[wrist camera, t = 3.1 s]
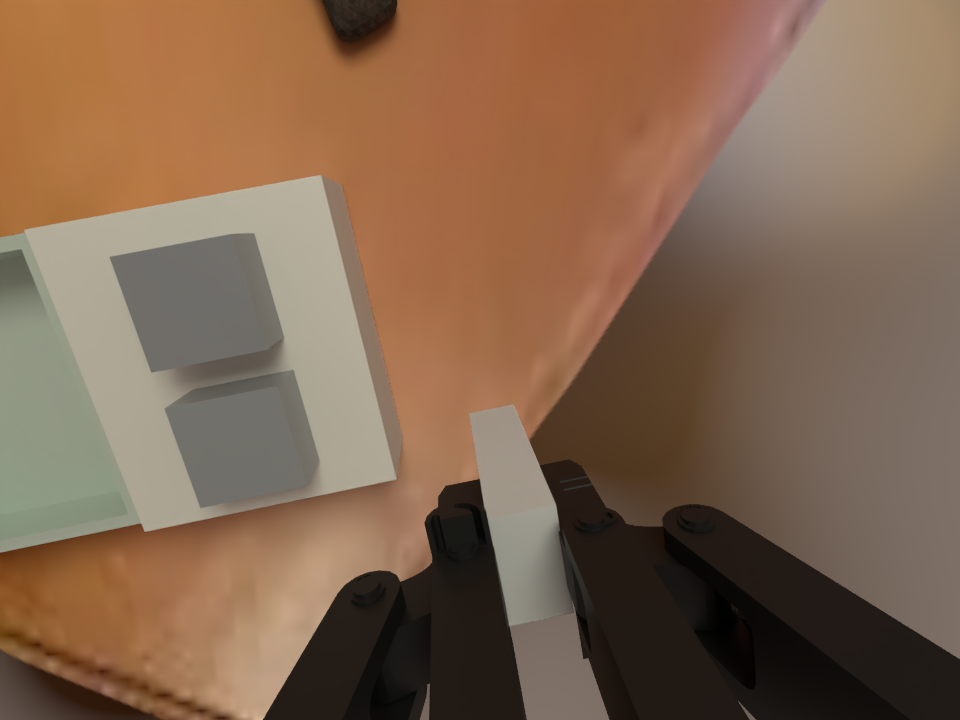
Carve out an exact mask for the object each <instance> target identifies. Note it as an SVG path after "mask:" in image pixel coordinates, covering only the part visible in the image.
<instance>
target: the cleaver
mask: <svg viewBox="0 0 960 720" xmlns="http://www.w3.org/2000/svg"><path fill="white" fill-rule="evenodd" d="M323 1H324V4H325V7H326V9H327V12H328V15H329V18H330V21H331V23H332V25H333V27H334V29H335V31H336V33H337V35H338V36H339V38H340V39H341V40H343V41H346V42H349V43H351V42H353V41H356V40H358V39H360V38H362V37H364V36H365V35H367V34H368V33H370V32H372V31H373V30H375V29H376V28H378V27H379V26H381V25H382V24H383V23H385V22H386V21H388V20H389V19H390V18H391V17H392V16H393V15H394V14H395V11H396V7H397V0H323Z"/></svg>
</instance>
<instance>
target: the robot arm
mask: <svg viewBox="0 0 960 720" xmlns="http://www.w3.org/2000/svg"><path fill="white" fill-rule="evenodd" d="M469 414H470V421H471V427H472V433H473V440H474V446H475V452H476V458H477V465H478V471H479V477H480V479H478V480H473V481H468V482H463V483H458V484H453V485H448V486H445V488H444V489H443V491H442V492H441V494H440V495H439V496H438V508H436V509H434V510H433V511H432V512H431V513H430V514H429V515H428V516H427V518H426V520H425V527H426V532H427V536H428V540H429V544H430V549H431V553H432V563H431V564H430V566H429V567H427V568H426V569H425V570H423V571H422V572H421V573H419V574H417V575H415V576H413V577H411V578H409V579H406V580H404V581H402V582H400V581H399V579H398V577H397V575H395V574H393V573H391V572H390V571H374V572H368V573H365V574H363V575H360V576H358V577H356V578H354V579H353V580H351V581H350V582H349V583H347V584H346V585H345V586H344V587H343V588H342V589H341V590H340V592H339V593H338V594H337V596H336V597H335V599H334V601H333V603H332V604H331V606H330V608H329V609H328V611H327V613H326V614H325V616H324V618H323V619H322V621H321V623H320V624H319V626H318V628H317V629H316V631H315V633H314V635H313V636H312V638H311V640H310V641H309V643H308V645H307V646H306V648H305V650H304V651H303V653H302V655H301V656H300V658H299V660H298V661H297V663H296V665H295V667H294V668H293V670H292V672H291V673H290V675H289V677H288V678H287V680H286V682H285V683H284V685H283V687H282V688H281V690H280V692H279V693H278V695H277V697H276V699H275V700H274V702H273V704H272V705H271V707H270V709H269V710H268V712H267V714H266V715H265V717H264V719H263V720H420V717H421V713H422V709H423V706H424V703H425V699H426V694H427V684H429V683H430V711H429V720H527V719H526V714H525V708H524V703H523V697H522V691H521V686H520V681H519V675H518V669H517V664H516V658H515V653H514V647H513V642H512V637H511V632H510V627H509V626H513V625H518V624H522V623H527V622H532V621H537V620H541V619H546V618H551V617H555V616H560V615H565V614H570V613H573V612H574V611H573V605H572V601H573V604H574V607H575V610H576V616H577V622H578V629H579V635H580V640H581V647H582V652H583V659H585V658H589V661H590V664H591V667H592V670H593V673H594V676H595V679H596V682H597V685H598V687H599V690H600V693H601V696H602V699H603V702H604V705H605V708H606V710H607V714H608V716H609V719H610V720H749V718H748V717H747V715H746V713H745V712H744V710H743V709H742V707H741V705H740V704H739V702H740V703H741V704H742V705H743V706H744V707H745V708H746V709H747V710H748V711H749V713H750V714H751V715H752V716H753V717H754V718H755V719H756V720H960V659H958V658H957V657H955V656H953V655H952V654H950V653H949V652H947V651H946V650H944V649H942V648H941V647H939V646H938V645H936V644H934V643H933V642H931V641H930V640H928V639H926V638H924V637H923V636H922V635H920V634H918V633H917V632H915V631H914V630H912V629H910V628H909V627H907V626H905V625H904V624H902V623H901V622H899V621H897V620H896V619H894V618H892V617H891V616H889V615H888V614H886V613H885V612H883V611H881V610H880V609H878V608H877V607H875V606H873V605H872V604H870V603H869V602H867V601H865V600H864V599H862V598H860V597H859V596H857V595H856V594H854V593H852V592H851V591H849V590H848V589H846V588H844V587H843V586H841V585H839V584H838V583H836V582H834V581H833V580H831V579H830V578H828V577H827V576H825V575H823V574H822V573H820V572H819V571H817V570H815V569H814V568H812V567H811V566H809V565H807V564H806V563H804V562H803V561H801V560H799V559H798V558H796V557H795V556H793V555H791V554H790V553H788V552H787V551H785V550H783V549H782V548H780V547H778V546H777V545H775V544H774V543H772V542H771V541H769V540H767V539H766V538H764V537H763V536H761V535H759V534H757V533H756V532H754V531H753V530H751V529H750V528H748V527H746V526H745V525H743V524H742V523H740V522H738V521H737V520H735V519H734V518H732V517H730V516H729V515H727V514H726V513H724V512H722V511H720V510H718V509H715V508H713V507H710V506H704V505H699V504H693V505H691V504H689V505H683V506H679V507H675V508H673V509H671V510H669V511H668V512H667V513H666V514H665V515H664V517H663V518H662V521H663V527H643V526H633V525H629V524H626V523H625V521H624V520H623V518H622V517H621V516H620V515H619V514H618V513H617V512H616V511H614V510H611V509H608V508H606V506H605V505H604V503H603V502H602V500H601V498H600V496H599V495H598V493H597V492H596V490H595V488H594V486H593V485H592V484H591V481H590V480H589V478H588V477H587V475H586V473H585V471H584V470H583V468H582V466H580V465H578V464H577V463H575V462H573V461H571V460H564V461H560V462H554V463H550V464H545V465H540V466H539V463H538V461H537V459H536V456H535V454H534V452H533V449H532V447H531V444H530V442H529V440H528V437H527V435H526V433H525V430H524V428H523V426H522V423H521V421H520V418H519V416H518V414H517V411H516V409H515V407H514V404H513V405H508V406H503V407H498V408H493V409H488V410H483V411H478V412H473V413H469ZM571 598H572V599H571ZM737 700H738V701H739V702H738V701H737Z"/></svg>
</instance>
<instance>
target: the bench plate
mask: <svg viewBox="0 0 960 720" xmlns="http://www.w3.org/2000/svg"><path fill="white" fill-rule="evenodd" d="M24 231H25V233H26V236H27V238H28V241H29V243H30V246H31V248H32V251H33V253H34V256H35V258H36V261H37V263H38V266H39V268H40V271H41V273H42V276H43V278H44V281H45V283H46V286H47V288H48V291H49V293H50V296H51V299H52V301H53V304H54V306H55V309H56V311H57V314H58V316H59V319H60V321H61V324H62V326H63V329H64V331H65V334H66V336H67V339H68V341H69V344H70V346H71V349H72V351H73V354H74V356H75V359H76V361H77V364H78V366H79V369H80V371H81V374H82V376H83V379H84V381H85V384H86V386H87V389H88V391H89V394H90V396H91V399H92V401H93V404H94V406H95V409H96V411H97V414H98V416H99V419H100V421H101V424H102V426H103V429H104V431H105V434H106V436H107V439H108V441H109V444H110V446H111V449H112V451H113V454H114V456H115V459H116V461H117V464H118V466H119V469H120V471H121V474H122V476H123V479H124V481H125V484H126V486H127V489H128V491H129V494H130V496H131V499H132V501H133V504H134V506H135V509H136V511H137V514H138V516H139V519H140V521H141V524H142V526H143V529H144V531H145V532H147V531H152V530H156V529H161V528H166V527H171V526H176V525H181V524H185V523H190V522H195V521H200V520H205V519H209V518H214V517H219V516H224V515H229V514H233V513H238V512H243V511H248V510H253V509H257V508H262V507H267V506H272V505H277V504H282V503H286V502H291V501H296V500H301V499H306V498H310V497H315V496H320V495H325V494H330V493H334V492H339V491H344V490H349V489H354V488H358V487H363V486H368V485H373V484H378V483H383V482H387V481H392V480H397V474H398V467H399V460H400V453H401V446H402V439H403V438H402V434H401V430H400V426H399V422H398V418H397V413H396V409H395V405H394V401H393V397H392V392H391V388H390V384H389V380H388V376H387V372H386V367H385V363H384V359H383V355H382V351H381V347H380V342H379V338H378V334H377V330H376V326H375V322H374V317H373V313H372V309H371V305H370V301H369V297H368V292H367V288H366V284H365V280H364V276H363V272H362V267H361V263H360V259H359V255H358V251H357V247H356V242H355V238H354V234H353V230H352V226H351V222H350V217H349V213H348V209H347V205H346V201H345V197H344V192H343V188H342V185H341V184H339V183H337V182H335V181H333V180H331V179H328V178H326V177H324V176H322V175H318V176H313V177H307V178H302V179H297V180H291V181H286V182H280V183H275V184H269V185H264V186H259V187H253V188H248V189H242V190H237V191H232V192H226V193H221V194H215V195H210V196H204V197H199V198H194V199H188V200H183V201H177V202H172V203H167V204H161V205H156V206H150V207H145V208H139V209H134V210H129V211H123V212H118V213H112V214H107V215H101V216H96V217H91V218H85V219H80V220H74V221H69V222H64V223H58V224H53V225H47V226H42V227H36V228H31V229H26V230H24ZM242 233H254V234H255V237H256V241H257V244H258V248H259V251H260V255H261V258H262V261H263V265H264V268H265V272H266V275H267V279H268V282H269V286H270V289H271V293H272V296H273V300H274V303H275V307H276V310H277V314H278V317H279V320H280V324H281V327H282V331H283V334H284V338H282V339H281V340H280V341H278V342H277V343H276V344H274V345H273V346H272V347H270V348H269V349H267V350H265V351H259V352H254V353H249V354H244V355H239V356H234V357H229V358H224V359H219V360H214V361H209V362H204V363H198V364H193V365H188V366H183V367H178V368H173V369H168V370H163V371H158V372H153V373H151V370H150V368H149V365H148V362H147V359H146V357H145V354H144V351H143V348H142V346H141V343H140V340H139V337H138V335H137V332H136V329H135V326H134V324H133V321H132V318H131V315H130V312H129V310H128V307H127V304H126V301H125V299H124V296H123V293H122V290H121V288H120V285H119V282H118V279H117V277H116V274H115V271H114V268H113V266H112V263H111V260H110V257H111V256H116V255H122V254H127V253H132V252H138V251H143V250H148V249H154V248H159V247H164V246H170V245H175V244H180V243H186V242H191V241H196V240H202V239H207V238H212V237H218V236H223V235H228V234H242ZM289 370H294V373H295V376H296V380H297V383H298V386H299V390H300V393H301V397H302V400H303V404H304V407H305V411H306V414H307V418H308V421H309V425H310V428H311V432H312V435H313V439H314V442H315V445H316V449H317V452H318V456H319V459H320V461H319V463H318V465H317V467H316V469H315V471H314V473H313V475H312V478H311V480H310V482H309V484H308V486H305V487H300V488H296V489H291V490H286V491H281V492H276V493H271V494H267V495H262V496H257V497H252V498H247V499H242V500H238V501H233V502H228V503H223V504H218V505H213V506H209V507H204V508H200V505H199V503H198V500H197V497H196V494H195V492H194V489H193V486H192V483H191V481H190V478H189V475H188V472H187V470H186V467H185V464H184V461H183V459H182V456H181V453H180V450H179V448H178V445H177V442H176V439H175V437H174V434H173V431H172V428H171V426H170V423H169V420H168V417H167V414H166V412H165V409H164V408H166V407H167V406H169V405H170V404H172V403H173V402H175V401H176V400H178V399H179V398H181V397H182V396H184V395H185V394H187V393H188V392H190V391H191V390H193V389H198V388H203V387H208V386H213V385H218V384H223V383H228V382H233V381H238V380H243V379H248V378H253V377H258V376H263V375H268V374H273V373H278V372H284V371H289Z"/></svg>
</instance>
